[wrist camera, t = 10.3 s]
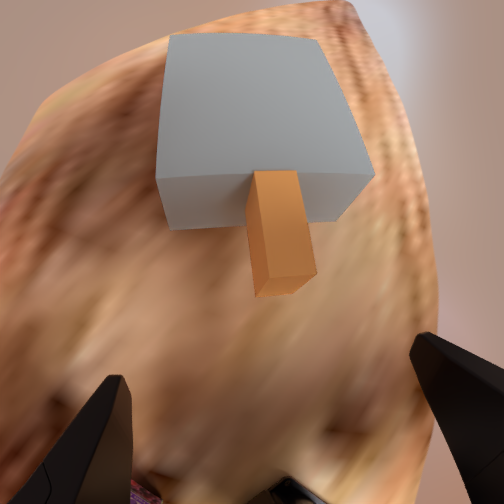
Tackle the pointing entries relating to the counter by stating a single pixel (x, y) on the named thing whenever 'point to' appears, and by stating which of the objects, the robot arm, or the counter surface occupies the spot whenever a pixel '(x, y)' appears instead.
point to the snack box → (142, 495)
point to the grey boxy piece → (257, 147)
